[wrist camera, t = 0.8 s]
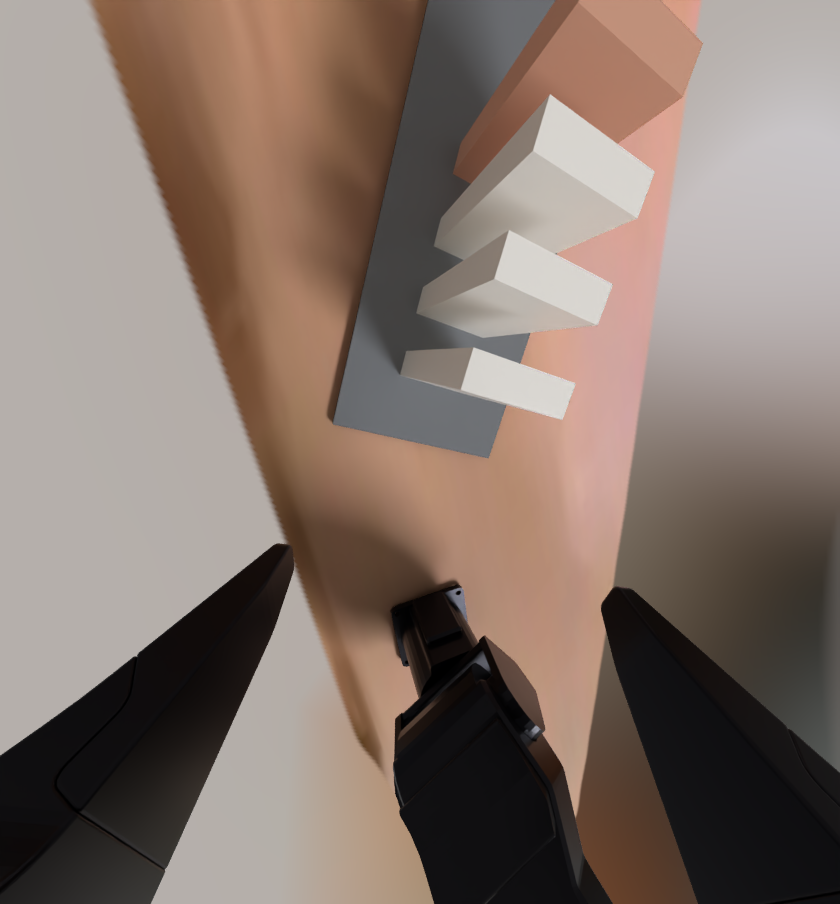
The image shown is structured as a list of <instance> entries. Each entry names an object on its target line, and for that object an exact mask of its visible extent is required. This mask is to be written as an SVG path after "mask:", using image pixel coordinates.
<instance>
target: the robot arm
mask: <svg viewBox="0 0 840 904" xmlns="http://www.w3.org/2000/svg"><path fill="white" fill-rule="evenodd" d="M293 570H294V559H293V549H292V546H291V545H287V544H275V545H273V546H272V547H271V548H270V549H268V550H267V551H266V552H264V553H263V554H262V555H261V556H259V557H258V558H257V559H256V560H254V561H253V562H252V563H251V564H250V565H248V566H247V567H246V568H245V569H243V570H242V571H241V572H239V573H238V574H237V575H236V576H234V577H233V578H232V579H231V580H229V581H228V582H227V583H226V584H224V585H223V586H222V587H221V588H219V589H218V590H217V591H216V592H214V593H213V594H212V595H211V596H209V597H208V598H207V599H206V600H204V601H203V602H202V603H201V604H199V605H198V606H197V607H196V608H194V609H193V610H192V611H191V612H189V613H188V614H187V615H186V616H184V617H183V618H182V619H181V620H179V621H178V622H177V623H176V624H174V625H173V626H172V627H171V628H169V629H168V630H167V631H166V632H164V633H163V634H162V635H161V636H159V637H158V638H157V639H156V640H154V641H153V642H152V643H151V644H149V645H148V646H147V647H145V648H144V649H143V650H142V651H140V652H139V654H138V655H137V657H133V658H132V659H130V660H129V661H128V662H127V663H125V664H124V665H123V666H121V667H120V668H119V669H118V670H117V671H115V672H114V673H113V674H111V675H110V676H109V677H108V678H106V679H105V680H104V681H102V682H101V683H100V684H98V685H97V686H96V687H95V688H93V689H92V690H91V691H89V692H88V693H87V694H86V695H84V696H83V697H82V698H81V699H79V700H78V701H76V702H75V703H73V704H72V705H71V706H69V707H68V708H66V709H65V710H64V711H62V712H61V713H60V714H58V715H57V716H56V717H54V718H53V719H51V720H50V721H49V722H47V723H46V724H44V725H43V726H42V727H41V728H39V729H37V730H36V731H35V732H33V733H32V734H30V735H29V736H27V737H26V738H25V739H23V740H22V741H20V742H19V743H18V744H16V745H15V746H13V747H12V748H10V749H9V750H8V751H6V752H5V753H4V754H2V755H0V904H151V902H152V900H153V898H154V895H155V893H156V891H157V889H158V886H159V884H160V882H161V880H162V878H163V875H164V873H165V869H166V868H167V866H168V864H169V862H170V859H171V857H172V855H173V853H174V851H175V848H176V846H177V844H178V842H179V839H180V837H181V835H182V833H183V831H184V828H185V826H186V824H187V822H188V819H189V817H190V815H191V813H192V811H193V808H194V806H195V804H196V802H197V800H198V797H199V795H200V793H201V790H202V788H203V786H204V784H205V782H206V780H207V778H208V775H209V773H210V771H211V768H212V766H213V764H214V762H215V760H216V758H217V755H218V753H219V751H220V748H221V747H222V744H223V742H224V740H225V738H226V735H227V733H228V731H229V729H230V726H231V724H232V722H233V720H234V718H235V716H236V713H237V711H238V709H239V706H240V704H241V702H242V700H243V698H244V695H245V693H246V691H247V689H248V687H249V684H250V682H251V680H252V678H253V676H254V673H255V671H256V669H257V667H258V664H259V662H260V660H261V657H262V656H263V653H264V651H265V649H266V646H267V645H268V642H269V640H270V638H271V635H272V633H273V631H274V628H275V625H276V622H277V619H278V616H279V613H280V610H281V607H282V604H283V601H284V598H285V595H286V592H287V589H288V586H289V583H290V580H291V577H292V574H293ZM458 590H459V591H458ZM457 591H458V592H457ZM396 612H398V613H396ZM601 612H602V616H603V620H604V624H605V628H606V632H607V636H608V640H609V644H610V648H611V652H612V656H613V660H614V663H615V667H616V671H617V673H618V676H619V680H620V683H621V685H622V688H623V691H624V694H625V697H626V700H627V703H628V705H629V708H630V711H631V714H632V717H633V719H634V723H635V725H636V728H637V731H638V734H639V737H640V740H641V742H642V745H643V748H644V751H645V754H646V757H647V760H648V762H649V765H650V768H651V771H652V774H653V777H654V779H655V782H656V785H657V788H658V791H659V794H660V797H661V799H662V802H663V804H664V808H665V811H666V814H667V817H668V819H669V822H670V825H671V828H672V831H673V834H674V836H675V839H676V842H677V845H678V848H679V851H680V854H681V856H682V859H683V862H684V865H685V868H686V871H687V874H688V876H689V879H690V882H691V885H692V888H693V891H694V893H695V896H696V899H697V902H698V904H840V772H839V771H837V770H836V769H835V768H834V767H833V766H832V765H830V764H829V763H828V762H827V761H826V760H824V759H823V758H822V757H821V756H820V755H819V754H818V753H817V752H815V751H814V750H813V749H812V748H811V747H810V746H809V745H808V744H806V743H805V742H804V741H803V740H802V739H801V738H800V737H798V736H797V735H796V734H795V733H794V732H793V731H792V730H790V729H788V728H787V727H786V725H785V724H784V723H783V722H781V721H780V720H779V719H778V718H777V717H776V716H775V715H774V714H772V713H771V712H770V711H769V710H768V709H767V708H766V707H764V706H763V705H762V704H761V703H760V702H759V701H758V700H757V699H756V698H754V697H753V696H752V695H751V694H750V693H748V691H746V690H745V689H744V688H743V687H742V686H741V685H740V684H739V683H737V682H736V681H735V680H734V679H733V678H732V677H731V676H730V675H728V674H727V673H726V672H725V671H724V670H723V669H722V668H721V667H719V666H718V665H717V664H716V663H715V662H714V661H713V660H711V659H710V658H709V657H708V656H707V655H706V654H705V653H704V652H702V651H701V650H700V649H699V648H698V647H697V646H696V645H694V644H693V643H692V642H691V641H690V640H689V639H688V638H687V637H685V636H684V635H683V634H682V633H681V632H680V631H679V630H678V629H677V628H675V627H674V626H673V625H672V624H671V623H670V622H669V621H667V620H666V619H665V618H664V617H663V616H662V615H661V614H660V613H658V612H657V611H656V610H655V609H654V608H653V607H652V606H651V605H649V604H648V603H647V602H646V601H645V600H644V599H643V598H641V597H640V596H639V595H638V594H637V593H636V592H635V591H634V590H632V589H630V588H627V587H619V586H616V587H614V588H612V590H611V591H610V592H609V594H608V595H607V597H606V598H605V600H604V601H603V602H602V605H601ZM391 616H392V621H393V625H394V629H395V634H396V638H397V643H398V647H399V652H400V656H401V661H402V664H403V666H406V667H407V666H410V670H411V673H412V677H413V680H414V684H415V687H416V690H417V694H418V697H419V699H418V700H417V701H416V702H415V703H414V704H413V705H412V706H410V707H409V708H408V709H407V710H406V711H405V712H404V713H401V714H400V715H399V716H398V717H397V718H396V719H395V754H394V762H393V772H394V786H395V794H396V797H397V800H398V803H399V806H400V811H399V812H400V816H401V818H402V820H403V822H404V823H405V825H406V827H407V829H408V831H409V832H410V834H411V836H412V838H413V841H414V844H415V846H416V848H417V851H418V853H419V855H420V858H421V861H422V864H423V867H424V871H425V874H426V877H427V881H428V884H429V887H430V891H431V894H432V897H433V901H434V904H613V903H612V902H611V900H610V898H609V896H608V895H607V893H606V892H605V890H604V888H603V887H602V885H601V883H600V882H599V880H598V879H597V877H596V875H595V874H594V872H593V871H592V869H591V867H590V865H589V864H588V862H587V860H586V859H585V856H584V854H583V851H582V846H581V842H580V838H579V833H578V829H577V824H576V820H575V815H574V811H573V807H572V802H571V798H570V793H569V789H568V785H567V780H566V776H565V772H564V769H563V766H562V764H561V762H560V761H559V759H558V758H557V756H556V754H555V753H554V751H553V750H552V748H551V747H550V745H549V744H548V742H547V740H546V739H545V737H544V736H543V734H542V733H543V732H544V731H545V725H544V721H543V717H542V713H541V709H540V705H539V701H538V697H537V694H536V691H535V689H534V687H533V686H532V685H531V683H530V682H529V680H528V679H527V678H526V676H525V675H524V673H523V672H522V671H521V669H520V668H519V666H518V665H517V664H516V662H515V661H513V660H512V659H511V658H510V657H509V656H508V655H507V654H505V653H504V652H503V651H502V650H501V649H500V648H499V647H497V646H496V645H495V644H494V643H493V642H492V641H491V640H489V639H488V638H487V637H486V636H485V635H484V636H483V637H482V638H481V639H480V640H479V643H478V641H477V639H476V638H475V636H474V634H473V632H472V630H471V629H470V627H469V625H468V622H467V614H466V606H465V598H464V591H463V589H462V587H461V586H460V585H455V586H452V587H449V588H447V589H444V590H441V591H438V592H435V593H432V594H429V595H426V596H423V597H421V598H418V599H415V600H412V601H409V602H406V603H403V604H400V605H397V606H395V607H393V608H392V609H391Z"/></svg>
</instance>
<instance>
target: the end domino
mask: <svg viewBox="0 0 840 904" xmlns="http://www.w3.org/2000/svg"><path fill="white" fill-rule="evenodd" d="M702 44H703V43H702V42H701V41H700V40H699V39H698V38H697V37H696V36H695V35H694V34H693V33H692V32H691V30H690V29H689V28H688V27H687V26H686V25H685V24H684V23H683V22H682V21H681V20H680V19H679V18H678V17H677V16H676V15H675V14H674V13H673V12H672V11H671V10H670V9H669V8H668V7H667V6H666V5H665V4H664V3H663V2H662V1H661V0H555V2H554V3H553V5H552V6H551V8H550V9H549V11H548V12H547V14H546V15H545V17H544V18H543V20H542V21H541V23H540V24H539V26H538V27H537V29H536V30H535V32H534V33H533V35H532V36H531V38H530V39H529V41H528V42H527V44H526V45H525V47H524V48H523V50H522V52H521V53H520V55H519V56H518V58H517V59H516V61H515V62H514V64H513V65H512V67H511V68H510V70H509V71H508V73H507V74H506V76H505V77H504V79H503V80H502V82H501V83H500V85H499V86H498V88H497V89H496V91H495V92H494V94H493V95H492V97H491V98H490V100H489V101H488V103H487V104H486V106H485V107H484V109H483V110H482V112H481V113H480V115H479V116H478V118H477V119H476V121H475V122H474V124H473V125H472V127H471V128H470V130H469V131H468V133H467V134H466V136H465V137H464V139H463V140H462V142H461V144H460V148H459V152H458V156H457V159H456V163H455V167H454V171H453V174H454V175H456V176H458V177H459V178H461V179H463V180H465V181H467V182H468V183H470V184H471V183H472V182H473V181H474V180H475V179H476V178H477V177H478V175H479V174H480V173H481V172H482V171H483V170H484V169H485V167H486V166H487V165H488V164H489V163H490V162H491V161H492V160H493V158H494V157H495V156H496V155H497V154H498V153H499V152H500V150H501V149H502V148H503V147H504V146H505V145H506V144H507V142H508V141H509V140H510V139H511V138H512V137H513V136H514V135H515V133H516V132H517V131H518V130H519V129H520V128H521V127H522V125H523V124H524V123H525V122H526V121H527V120H528V119H529V117H530V116H531V115H532V114H533V113H534V112H535V111H536V110H537V108H538V107H539V106H540V105H541V104H542V103H543V102H544V100H545V99H546V98H547V97H548V96H549V95H550V94H551V95H552V96H553V97H555V98H556V99H557V100H559V101H560V102H561V103H563V104H564V105H565V106H567V107H568V108H569V109H571V110H572V111H574V112H575V113H576V114H578V115H579V116H580V117H582V118H583V119H584V120H586V121H587V122H588V123H590V124H591V125H592V126H594V127H595V128H597V129H598V130H599V131H601V132H602V133H603V134H605V135H606V136H607V137H609V138H610V139H611V140H613V141H614V142H615V143H617V144H618V143H619V142H620V141H622V140H623V139H625V138H626V137H627V136H629V135H630V134H632V133H633V132H634V131H636V130H637V129H639V128H640V127H641V126H643V125H644V124H646V123H647V122H648V121H650V120H651V119H653V118H654V117H655V116H657V115H658V114H660V113H661V112H662V111H664V110H665V109H667V108H668V107H669V106H671V105H672V104H674V103H675V102H676V101H678V100H679V99H681V98H682V97H683V96H684V93H685V90H686V87H687V85H688V82H689V79H690V77H691V74H692V71H693V69H694V66H695V63H696V60H697V58H698V55H699V53H700V50H701V47H702Z"/></svg>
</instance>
